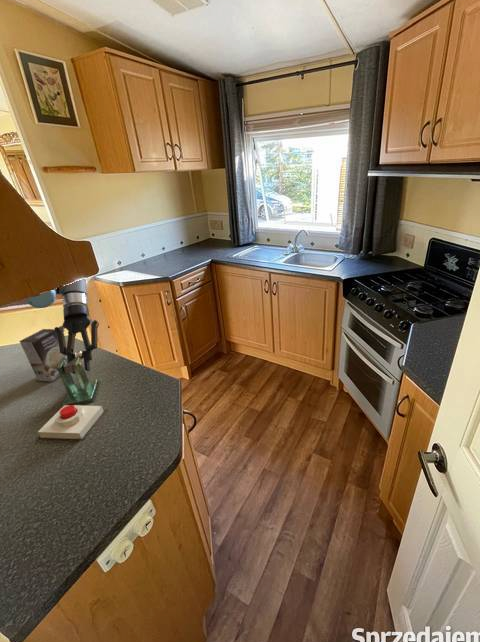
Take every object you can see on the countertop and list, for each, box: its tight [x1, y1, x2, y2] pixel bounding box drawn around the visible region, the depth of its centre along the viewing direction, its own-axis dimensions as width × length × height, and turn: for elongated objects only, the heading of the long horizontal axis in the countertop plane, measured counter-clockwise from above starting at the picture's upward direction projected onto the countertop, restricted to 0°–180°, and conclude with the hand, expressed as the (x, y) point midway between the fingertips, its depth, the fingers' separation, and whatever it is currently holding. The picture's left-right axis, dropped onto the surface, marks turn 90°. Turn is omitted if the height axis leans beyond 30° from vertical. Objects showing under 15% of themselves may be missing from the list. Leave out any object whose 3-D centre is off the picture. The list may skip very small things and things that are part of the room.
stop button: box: [60, 405, 77, 419], centre depth 81 cm, size 4×4×2 cm
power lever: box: [64, 349, 84, 374], centre depth 94 cm, size 13×3×3 cm, turn 19°
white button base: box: [37, 404, 105, 440], centre depth 82 cm, size 12×10×4 cm
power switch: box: [57, 357, 99, 407], centre depth 91 cm, size 10×8×13 cm
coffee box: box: [19, 328, 67, 382], centre depth 102 cm, size 9×6×16 cm
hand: (80, 371), depth 97 cm, fingers closed on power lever, 3 cm apart
